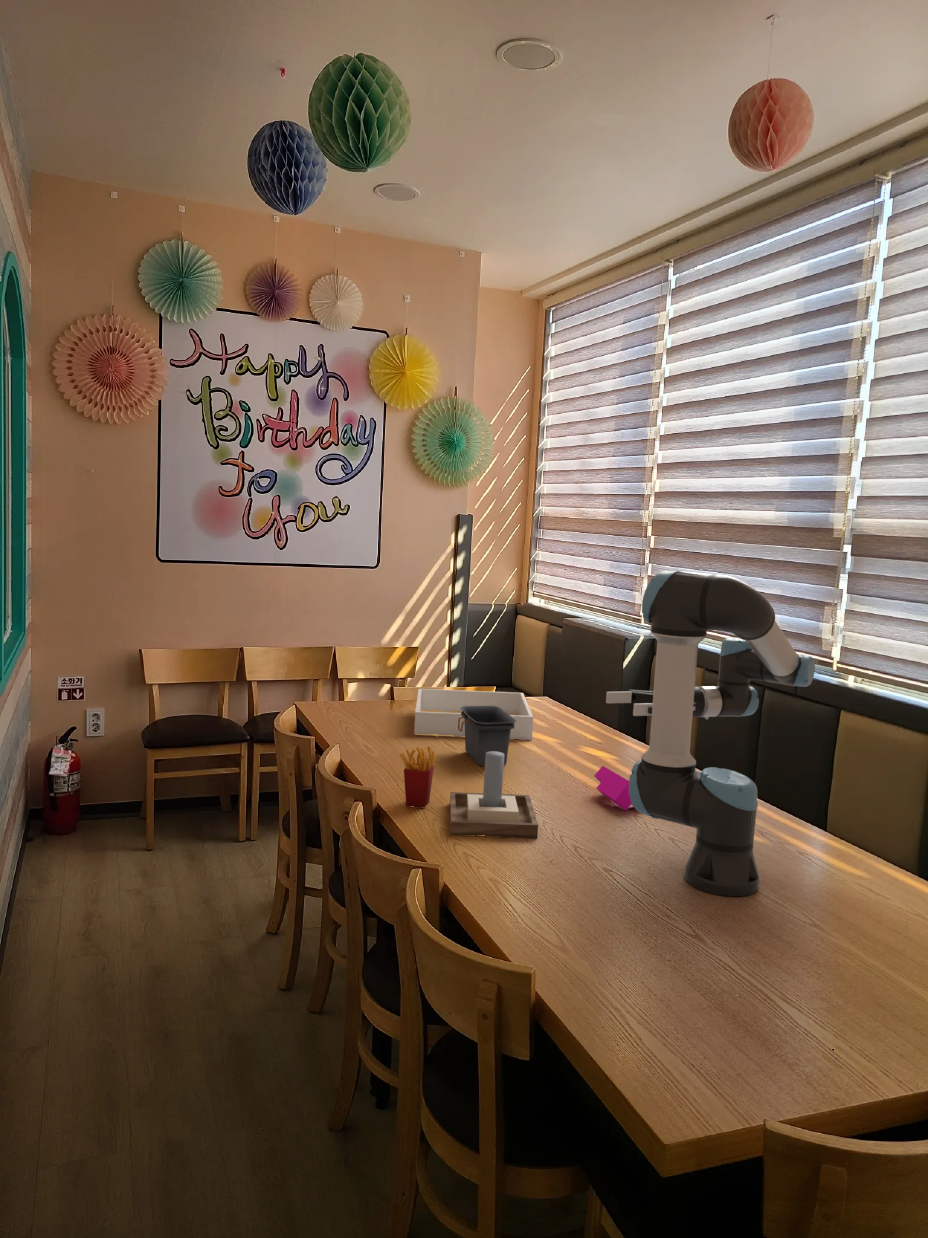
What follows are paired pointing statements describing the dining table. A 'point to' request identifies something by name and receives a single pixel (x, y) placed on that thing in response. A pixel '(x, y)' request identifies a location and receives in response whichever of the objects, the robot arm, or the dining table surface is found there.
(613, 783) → the toy block
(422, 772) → the french fries
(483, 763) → the storage bin
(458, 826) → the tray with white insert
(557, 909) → the dining table surface
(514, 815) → the bore block
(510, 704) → the white shallow tray
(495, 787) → the peg
